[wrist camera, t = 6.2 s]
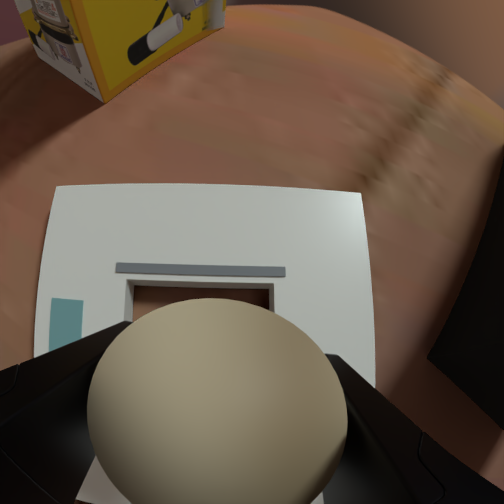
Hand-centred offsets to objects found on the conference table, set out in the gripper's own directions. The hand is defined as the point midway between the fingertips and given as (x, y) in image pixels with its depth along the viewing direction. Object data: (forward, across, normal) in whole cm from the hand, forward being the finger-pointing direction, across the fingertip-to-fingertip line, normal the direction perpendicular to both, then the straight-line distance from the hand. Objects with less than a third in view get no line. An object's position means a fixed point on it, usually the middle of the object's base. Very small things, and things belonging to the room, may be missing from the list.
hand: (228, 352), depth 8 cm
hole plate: (+8, -2, -9) cm, 12 cm away
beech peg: (+4, 0, -6) cm, 7 cm away
